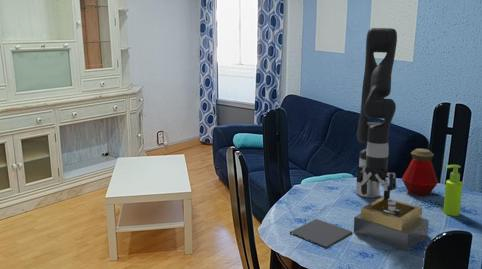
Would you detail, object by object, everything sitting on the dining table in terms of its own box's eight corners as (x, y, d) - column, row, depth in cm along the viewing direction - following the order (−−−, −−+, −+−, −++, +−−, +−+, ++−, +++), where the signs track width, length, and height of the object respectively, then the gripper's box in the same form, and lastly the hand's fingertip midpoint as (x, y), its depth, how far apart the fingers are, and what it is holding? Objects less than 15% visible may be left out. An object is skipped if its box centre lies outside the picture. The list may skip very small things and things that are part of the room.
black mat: (289, 233, 152) (289, 231, 152) (316, 220, 163) (316, 218, 163) (326, 248, 141) (326, 246, 141) (352, 233, 151) (352, 231, 151)
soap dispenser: (437, 210, 170) (442, 163, 166) (454, 209, 170) (458, 162, 166) (446, 216, 164) (450, 167, 160) (462, 215, 165) (467, 167, 160)
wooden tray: (360, 218, 149) (361, 208, 149) (382, 206, 160) (382, 196, 159) (401, 231, 139) (402, 220, 138) (421, 218, 149) (422, 207, 148)
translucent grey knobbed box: (353, 232, 152) (355, 198, 149) (376, 219, 163) (377, 187, 160) (406, 251, 138) (409, 214, 135) (427, 235, 149) (430, 201, 146)
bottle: (394, 191, 192) (397, 149, 188) (411, 185, 200) (414, 144, 196) (426, 201, 180) (430, 156, 176) (443, 194, 188) (447, 151, 184)
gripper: (354, 152, 152) (352, 194, 155) (390, 159, 141) (388, 204, 145) (364, 149, 157) (362, 190, 160) (401, 155, 146) (398, 199, 150)
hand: (375, 197), depth 152 cm, fingers open, 8 cm apart
